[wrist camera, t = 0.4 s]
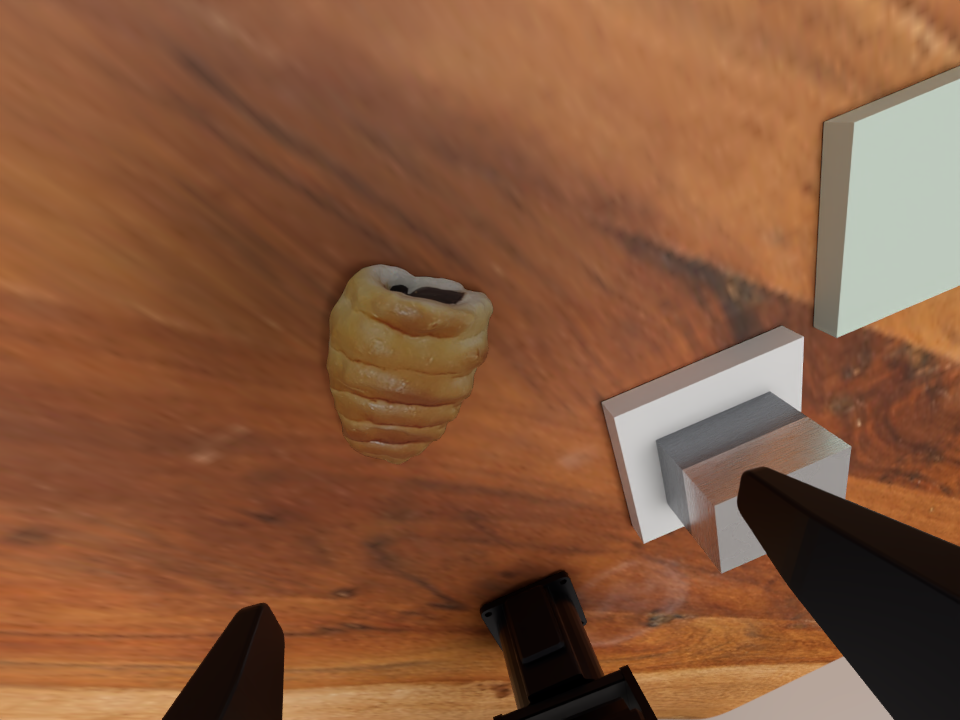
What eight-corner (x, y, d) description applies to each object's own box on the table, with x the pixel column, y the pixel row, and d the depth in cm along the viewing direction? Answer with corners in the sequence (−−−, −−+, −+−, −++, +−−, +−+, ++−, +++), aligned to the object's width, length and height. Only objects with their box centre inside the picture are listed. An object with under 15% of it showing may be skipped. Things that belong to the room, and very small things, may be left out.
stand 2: (986, 253, 27) (1018, 260, 25) (813, 326, 26) (836, 337, 25) (1042, 31, 21) (1086, 26, 20) (823, 122, 21) (854, 122, 19)
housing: (770, 459, 29) (842, 520, 24) (667, 503, 28) (721, 573, 24) (769, 391, 26) (851, 446, 21) (655, 440, 26) (714, 505, 21)
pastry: (445, 446, 25) (456, 496, 22) (313, 434, 23) (304, 488, 20) (492, 281, 21) (515, 312, 18) (340, 249, 19) (333, 277, 16)
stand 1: (780, 461, 31) (798, 476, 30) (632, 525, 31) (643, 543, 30) (781, 325, 26) (804, 336, 24) (601, 402, 25) (613, 417, 24)
